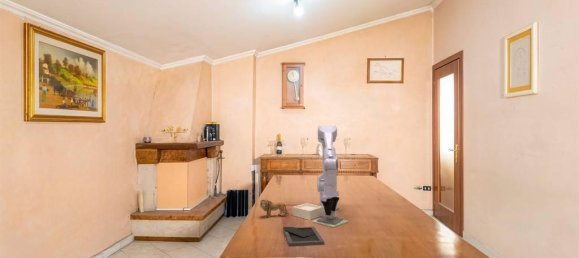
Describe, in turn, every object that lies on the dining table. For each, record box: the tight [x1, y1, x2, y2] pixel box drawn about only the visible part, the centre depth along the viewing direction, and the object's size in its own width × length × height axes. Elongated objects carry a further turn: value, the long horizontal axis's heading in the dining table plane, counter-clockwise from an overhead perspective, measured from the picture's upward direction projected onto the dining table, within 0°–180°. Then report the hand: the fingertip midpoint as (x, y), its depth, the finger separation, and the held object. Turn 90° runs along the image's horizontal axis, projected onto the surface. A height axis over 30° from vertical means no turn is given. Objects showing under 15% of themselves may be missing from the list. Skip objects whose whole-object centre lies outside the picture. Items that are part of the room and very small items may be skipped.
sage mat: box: [311, 217, 349, 228], centre depth 146 cm, size 12×12×1 cm
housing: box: [291, 202, 324, 221], centre depth 156 cm, size 11×11×4 cm
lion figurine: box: [259, 198, 290, 219], centre depth 155 cm, size 15×5×9 cm, turn 110°
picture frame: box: [282, 226, 325, 247], centre depth 126 cm, size 13×2×18 cm
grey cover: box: [317, 210, 344, 225], centre depth 146 cm, size 9×9×4 cm
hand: (330, 213), depth 146 cm, fingers open, 4 cm apart
